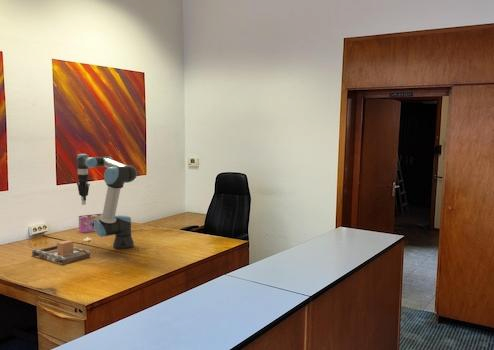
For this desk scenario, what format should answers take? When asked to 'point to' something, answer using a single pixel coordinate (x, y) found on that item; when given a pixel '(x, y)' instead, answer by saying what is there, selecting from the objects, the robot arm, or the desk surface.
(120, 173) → the robot arm
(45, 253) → the rail track section
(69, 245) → the terracotta block
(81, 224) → the gum box
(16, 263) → the desk surface
